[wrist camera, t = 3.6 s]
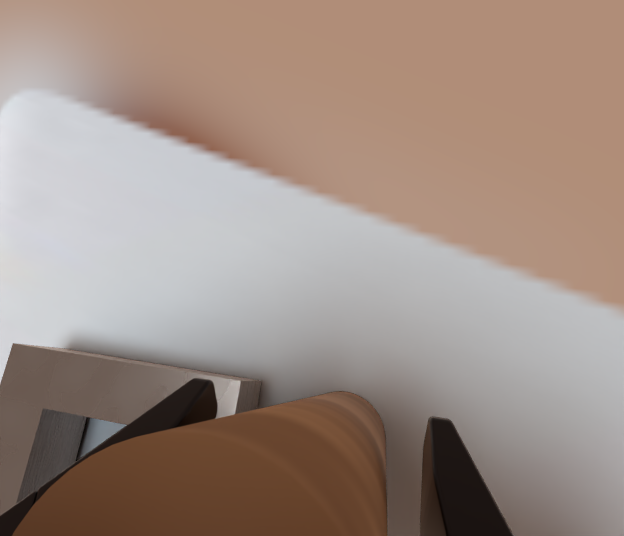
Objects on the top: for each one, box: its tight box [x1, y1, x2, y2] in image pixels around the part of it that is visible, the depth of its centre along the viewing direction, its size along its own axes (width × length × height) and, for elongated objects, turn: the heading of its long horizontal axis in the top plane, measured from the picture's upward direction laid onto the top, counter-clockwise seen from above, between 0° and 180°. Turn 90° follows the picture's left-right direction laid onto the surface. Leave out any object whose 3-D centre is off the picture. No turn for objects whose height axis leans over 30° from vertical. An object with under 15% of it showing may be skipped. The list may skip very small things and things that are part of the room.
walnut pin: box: [12, 391, 387, 536], centre depth 9 cm, size 3×3×13 cm
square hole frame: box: [0, 343, 262, 515], centre depth 15 cm, size 9×9×2 cm
